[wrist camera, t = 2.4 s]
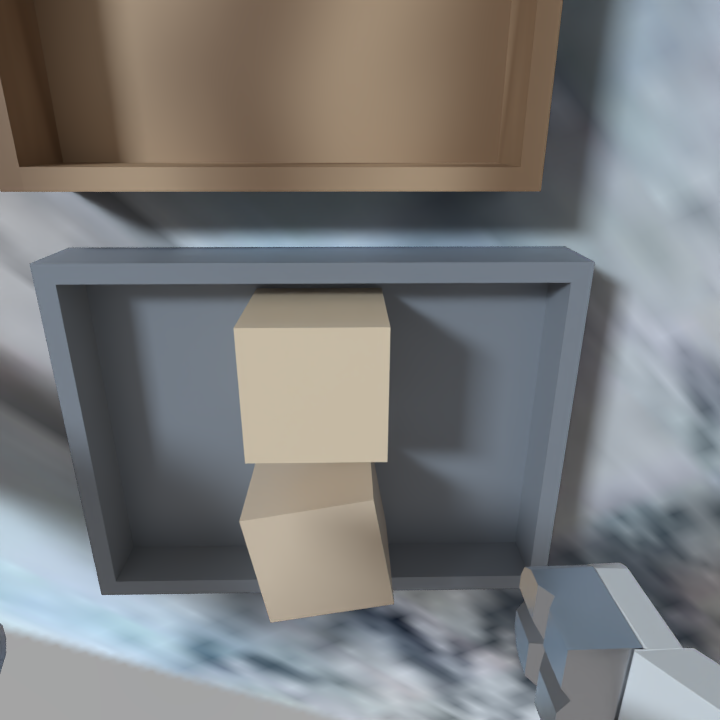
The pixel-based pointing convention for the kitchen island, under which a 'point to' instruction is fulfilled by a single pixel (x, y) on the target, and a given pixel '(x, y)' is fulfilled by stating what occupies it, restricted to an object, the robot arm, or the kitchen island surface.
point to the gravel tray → (405, 420)
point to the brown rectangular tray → (275, 95)
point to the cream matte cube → (314, 375)
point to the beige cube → (317, 538)
